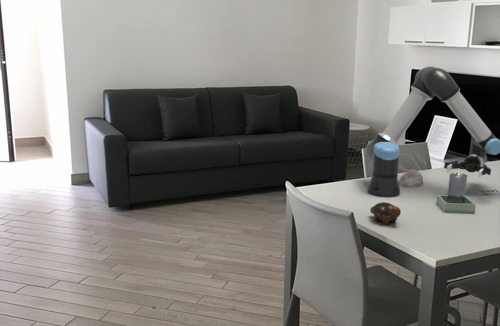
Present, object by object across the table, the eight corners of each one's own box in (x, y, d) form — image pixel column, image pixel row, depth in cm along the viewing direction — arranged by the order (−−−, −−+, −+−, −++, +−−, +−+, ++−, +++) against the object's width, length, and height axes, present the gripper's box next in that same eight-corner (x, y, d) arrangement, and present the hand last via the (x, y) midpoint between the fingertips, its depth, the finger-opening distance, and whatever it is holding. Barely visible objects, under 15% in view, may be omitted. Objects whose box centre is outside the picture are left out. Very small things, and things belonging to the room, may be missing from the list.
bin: (444, 212, 227) (445, 203, 226) (436, 203, 239) (437, 194, 238) (474, 213, 226) (475, 204, 225) (464, 204, 238) (465, 195, 237)
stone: (405, 198, 266) (421, 186, 261) (392, 182, 267) (408, 170, 262) (413, 190, 280) (429, 179, 275) (401, 175, 282) (416, 164, 277)
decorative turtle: (392, 229, 206) (392, 209, 204) (362, 221, 218) (362, 202, 216) (408, 223, 211) (408, 204, 210) (378, 215, 224) (378, 197, 222)
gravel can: (449, 208, 229) (452, 173, 225) (444, 203, 236) (448, 169, 232) (466, 208, 229) (469, 174, 225) (461, 203, 235) (464, 169, 232)
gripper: (500, 175, 250) (492, 184, 233) (445, 166, 263) (434, 175, 246) (502, 159, 248) (494, 168, 231) (447, 152, 262) (435, 159, 244)
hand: (463, 171), depth 238 cm, fingers open, 13 cm apart
